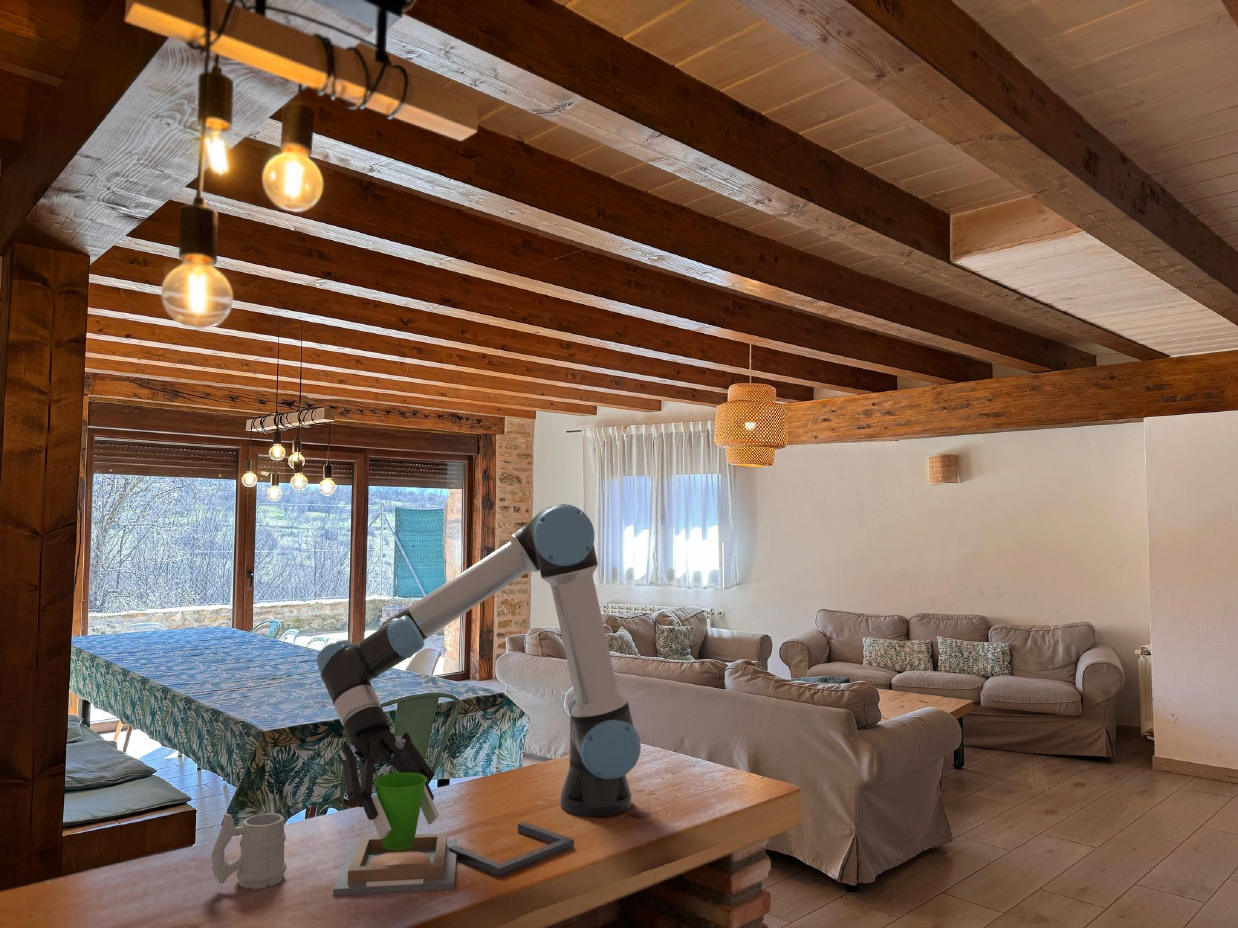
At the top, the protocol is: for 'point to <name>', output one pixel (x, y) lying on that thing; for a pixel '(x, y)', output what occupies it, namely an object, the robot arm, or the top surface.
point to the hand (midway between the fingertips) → (410, 826)
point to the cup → (400, 806)
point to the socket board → (400, 888)
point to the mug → (252, 851)
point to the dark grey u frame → (501, 869)
